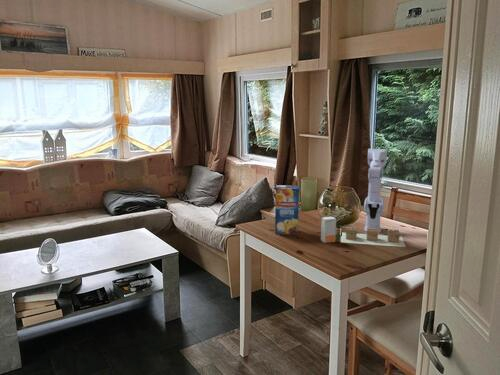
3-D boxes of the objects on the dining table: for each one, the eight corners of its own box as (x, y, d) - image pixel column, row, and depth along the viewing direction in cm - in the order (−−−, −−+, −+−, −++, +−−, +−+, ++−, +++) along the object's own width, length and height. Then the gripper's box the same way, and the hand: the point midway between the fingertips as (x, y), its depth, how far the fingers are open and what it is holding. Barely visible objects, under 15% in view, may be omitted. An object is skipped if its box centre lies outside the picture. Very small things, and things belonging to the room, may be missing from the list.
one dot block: (387, 238, 215) (388, 228, 214) (397, 239, 214) (398, 229, 213) (388, 242, 210) (388, 231, 209) (399, 242, 209) (399, 232, 208)
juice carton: (298, 229, 231) (299, 185, 226) (298, 234, 224) (299, 188, 219) (275, 229, 232) (276, 185, 227) (274, 233, 225) (275, 188, 220)
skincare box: (324, 243, 210) (324, 219, 207) (320, 240, 214) (321, 217, 211) (335, 242, 211) (336, 218, 209) (331, 239, 215) (332, 216, 213)
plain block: (366, 237, 217) (367, 227, 216) (376, 238, 216) (377, 228, 215) (366, 240, 213) (367, 230, 212) (377, 241, 211) (378, 231, 210)
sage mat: (341, 233, 225) (341, 232, 225) (402, 237, 219) (402, 236, 219) (340, 243, 210) (340, 242, 210) (405, 247, 204) (405, 246, 203)
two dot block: (346, 236, 220) (346, 226, 219) (356, 236, 218) (356, 226, 217) (345, 239, 215) (346, 229, 214) (356, 239, 214) (356, 229, 212)
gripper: (365, 188, 220) (364, 214, 223) (366, 193, 206) (364, 221, 209) (379, 189, 219) (378, 215, 221) (381, 194, 205) (380, 222, 207)
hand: (372, 218), depth 215 cm, fingers closed
